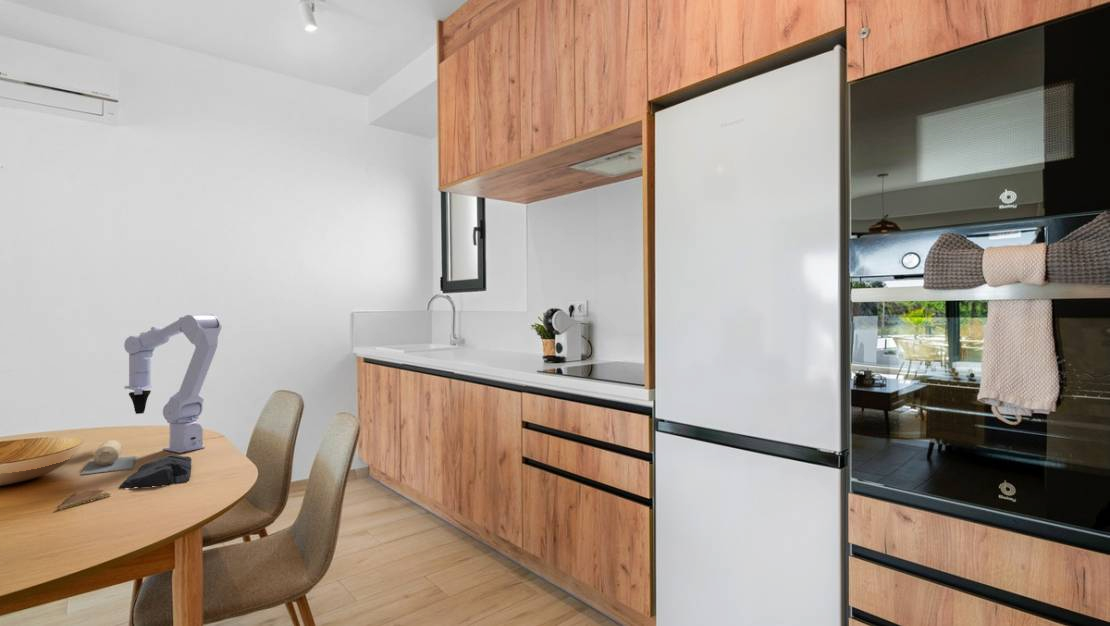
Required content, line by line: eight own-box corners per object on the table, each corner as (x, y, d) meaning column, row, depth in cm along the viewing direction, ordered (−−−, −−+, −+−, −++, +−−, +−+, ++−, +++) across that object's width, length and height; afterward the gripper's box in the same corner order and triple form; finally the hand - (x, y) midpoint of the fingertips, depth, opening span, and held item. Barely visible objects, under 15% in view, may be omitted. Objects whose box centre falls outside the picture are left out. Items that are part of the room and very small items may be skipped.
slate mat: (89, 462, 161) (89, 461, 161) (136, 457, 168) (136, 456, 168) (80, 475, 149) (80, 474, 149) (131, 469, 155) (131, 468, 155)
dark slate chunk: (200, 463, 164) (200, 447, 164) (187, 485, 144) (188, 467, 144) (137, 469, 157) (137, 452, 157) (114, 493, 137) (115, 474, 137)
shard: (57, 513, 124) (56, 505, 124) (38, 508, 127) (38, 500, 127) (111, 498, 134) (111, 491, 134) (93, 493, 137) (93, 486, 137)
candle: (126, 451, 167) (121, 459, 158) (105, 461, 164) (99, 470, 156) (116, 436, 166) (111, 443, 157) (95, 446, 163) (88, 454, 154)
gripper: (126, 370, 185) (126, 410, 186) (122, 375, 173) (122, 418, 173) (152, 369, 189) (152, 408, 189) (150, 374, 177) (150, 416, 177)
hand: (139, 413), depth 182 cm, fingers closed
